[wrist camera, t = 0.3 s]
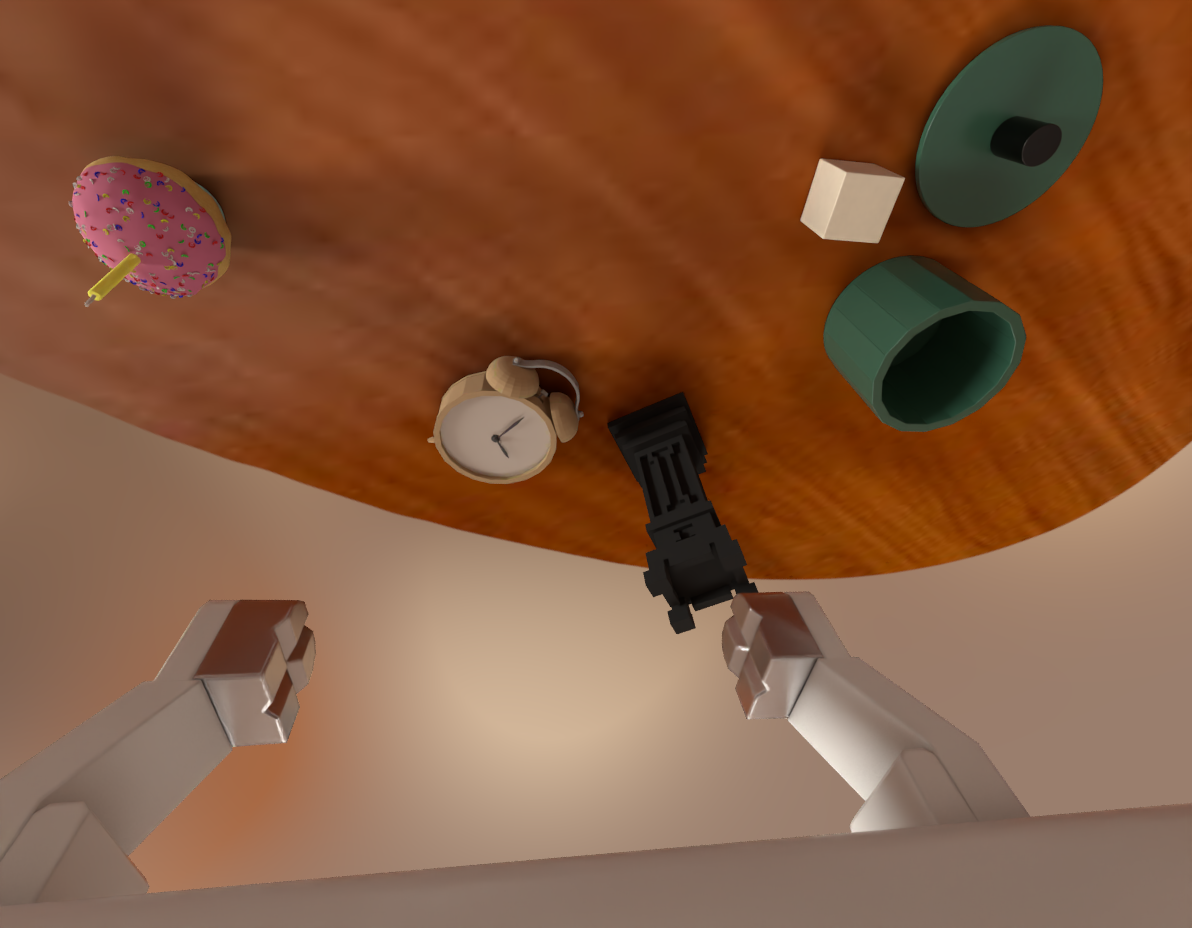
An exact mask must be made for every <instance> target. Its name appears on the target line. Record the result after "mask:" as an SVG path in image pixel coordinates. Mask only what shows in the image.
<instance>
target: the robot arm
mask: <svg viewBox="0 0 1192 928" xmlns="http://www.w3.org/2000/svg"><path fill="white" fill-rule="evenodd" d="M731 609H732V611H733V614H734V615H733V616H732V617H731V618H729V619H728V620H727V621H726V622H725V625H724V629H723V632H722V649H723V654H724V659H725V661H726V664H727V667H728V669H729V670H730V671H731V672H733V673H734V674H735V675H736V676H737V677H738V678H739V680H738V682H737V685H736V688H735V689H736V692H737V694H738V697H739V700H740V702H741V705H742V708H743V710H744V713H745V716H746V719H771V718H789V719H788V721H789V722H790V723H791V724H792V725H793V726H794V727H795V728H796V729H797V730H798V732H799V733H800V734H801V735H802V736H803V737H804V738H805V739H806V740H807V741H808V742H809V743H810V744H811V745H812V746H813V747H814V748H815V749H816V750H817V751H818V752H819V753H820V754H821V755H822V756H823V758H824V759H825V760H826V761H827V762H828V763H829V764H830V765H831V766H832V767H833V768H834V769H835V770H836V771H837V772H838V773H839V774H840V775H841V776H842V777H843V778H844V779H845V780H846V781H847V783H848V784H849V785H850V786H851V787H852V788H853V789H854V790H855V791H856V792H858V794H859V795H860V796H861V797H862V798H863V799H864V800H865V803H864V804H863V806H862V807H861V808H860V810H859V811H858V813H857V814H856V816H855V817H854V818H853V820H852V822H851V825H850V829H851V831H852V832H851V833H841V834H829V835H817V836H806V837H794V838H782V839H770V840H759V841H747V842H736V843H724V844H713V845H700V846H689V847H677V848H665V849H655V850H642V851H631V852H619V853H607V854H596V855H585V856H574V857H561V858H551V859H550V858H549V859H538V860H526V861H515V862H503V863H492V864H480V865H469V866H457V867H445V868H434V869H423V870H411V871H399V872H389V873H376V874H365V875H353V876H342V877H331V878H319V879H307V880H296V881H284V882H273V883H262V884H250V885H239V886H227V887H216V888H204V889H192V890H182V891H170V892H158V893H147V891H148V888H149V885H148V882H147V880H146V878H145V876H144V875H143V874H142V873H141V872H140V870H139V869H138V868H137V867H136V865H135V864H134V863H133V862H132V861H131V859H130V858H129V857H128V856H129V854H131V853H132V852H133V850H134V849H136V847H138V845H139V844H140V843H141V842H142V841H143V840H144V839H145V838H146V837H147V836H148V835H149V834H150V833H151V832H152V831H153V830H154V829H155V828H156V827H157V826H158V825H159V824H160V823H161V822H162V821H163V820H164V819H165V818H166V817H167V816H168V815H169V814H170V813H171V812H172V811H173V810H174V809H175V808H176V807H177V806H178V805H179V804H180V803H181V802H182V801H183V799H185V798H186V797H187V796H188V794H190V793H191V791H192V790H194V789H195V787H196V786H198V784H199V783H200V782H201V781H202V780H203V779H204V778H205V777H206V776H207V775H208V774H209V773H210V772H211V771H212V770H213V769H214V768H215V767H216V766H217V765H218V764H219V763H220V762H221V761H222V760H223V759H224V758H225V757H226V756H227V755H228V754H229V753H230V752H231V751H232V747H236V746H248V745H261V744H275V743H286V742H287V740H288V738H289V735H290V732H291V729H292V727H293V724H294V721H295V719H296V716H297V713H298V710H299V708H300V706H299V702H298V699H297V696H296V694H297V693H298V692H299V691H300V690H302V689H303V688H304V687H305V686H306V685H307V684H308V682H309V680H310V677H311V674H312V671H313V666H314V659H315V653H316V650H315V638H314V634H313V631H312V630H310V629H309V628H308V627H306V626H305V625H304V624H305V621H306V619H307V617H308V611H307V608H306V605H305V602H304V601H299V600H209V601H208V602H206V603H205V604H204V605H202V606H201V607H200V608H199V610H198V612H197V613H196V615H195V616H194V618H193V620H192V621H191V623H190V624H189V626H188V627H187V629H186V631H185V632H184V634H183V635H182V637H181V638H180V640H179V642H178V643H177V645H176V647H175V648H174V650H173V651H172V653H171V654H170V656H169V657H168V659H167V661H166V662H165V664H164V665H163V667H162V669H161V670H160V672H159V673H158V675H157V677H156V678H155V680H154V681H147V682H142V683H141V684H139V685H138V686H137V687H135V688H133V689H132V690H131V691H129V692H128V693H126V694H125V695H123V696H122V697H120V698H119V699H117V700H116V701H115V702H113V703H111V704H110V705H109V706H107V707H106V708H104V709H103V710H101V711H100V712H98V713H97V714H95V715H94V716H92V717H91V718H89V719H88V720H87V721H85V722H84V723H82V724H81V725H79V726H78V727H77V728H75V729H73V730H72V731H71V732H69V733H68V734H66V735H64V736H63V737H62V738H60V739H59V740H57V741H56V742H54V743H53V744H51V745H50V746H48V747H47V748H46V749H44V750H43V751H41V752H40V753H38V754H37V755H35V756H34V757H32V758H31V759H29V760H28V761H26V762H25V763H23V764H22V765H21V766H19V767H18V768H16V769H15V770H13V771H12V772H10V773H9V774H7V775H6V776H4V777H3V778H1V779H0V928H1192V803H1185V804H1175V805H1174V804H1173V805H1162V806H1150V807H1139V808H1127V809H1115V810H1105V811H1093V812H1081V813H1069V814H1058V815H1047V816H1035V817H1030V816H1029V814H1028V812H1027V811H1026V810H1025V808H1024V807H1023V805H1022V804H1021V803H1020V801H1019V800H1018V798H1017V797H1016V796H1015V794H1014V793H1013V791H1012V790H1011V789H1010V787H1009V786H1008V784H1007V783H1006V781H1005V780H1004V779H1003V777H1002V776H1001V775H1000V773H999V772H998V770H997V769H996V767H995V766H994V765H993V763H992V762H991V760H990V759H989V758H988V756H987V755H986V754H985V752H984V750H983V749H982V748H981V746H980V745H979V743H977V742H976V741H974V740H973V739H972V738H970V737H969V736H967V735H966V734H965V733H963V732H962V731H961V730H959V729H958V728H956V727H955V726H954V725H952V724H951V723H949V722H948V721H947V720H945V719H944V718H942V717H941V716H940V715H938V714H937V713H935V712H934V711H933V710H931V709H930V708H928V707H927V706H926V705H924V704H923V703H921V702H920V701H919V700H917V699H916V698H914V697H913V696H912V695H910V694H909V693H907V692H906V691H905V690H903V689H902V688H900V687H899V686H898V685H896V684H895V683H893V682H892V681H891V680H889V679H888V678H886V677H885V676H884V675H882V674H881V673H879V672H878V671H876V670H875V669H874V668H873V667H871V666H870V665H868V664H867V663H866V662H864V661H863V660H861V659H860V658H859V657H851V656H850V655H849V653H848V651H847V650H846V648H845V646H844V645H843V643H842V641H841V640H840V638H839V636H838V635H837V633H836V632H835V630H834V628H833V626H832V625H831V623H830V621H829V620H828V618H827V617H826V615H825V613H824V611H823V610H822V608H821V606H820V605H819V603H818V602H817V600H816V598H815V597H814V595H812V594H811V593H810V592H784V593H783V592H766V593H738V594H737V595H736V596H735V597H734V598H733V601H732V604H731Z"/></svg>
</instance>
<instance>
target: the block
mask: <svg viewBox="0 0 1192 928" xmlns="http://www.w3.org/2000/svg"><path fill="white" fill-rule="evenodd" d="M904 180H905V178H904V177H902V176H900V175H898V174H896V173H894V172H891V171H889V170H887V169H885V168H883V167H880V166H878V165H876V164H872V163H862V162H852V161H842V160H832V159H823V158H821V159H820V160H819V163H818V166H817V170H816V173H815V176H814V179H813V182H812V185H811V188H810V191H809V195H808V198H807V201H806V204H805V207H804V210H803V213H802V217H801V220H800V221H801V222H802V223H804V224H805V225H806V226H808V227H809V228H810V229H811V230H813V231H814V232H815V233H816V234H818V235H819V236H820V237H821V238H823V239H831V240H844V241H856V242H869V243H879V240H880V238H881V236H882V233H883V231H884V228H885V226H886V223H887V221H888V219H889V216H890V214H891V211H892V209H893V207H894V204H895V202H896V199H897V197H898V195H899V192H900V190H901V187H902V185H903V182H904Z"/></svg>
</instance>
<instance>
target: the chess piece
mask: <svg viewBox="0 0 1192 928" xmlns="http://www.w3.org/2000/svg"><path fill="white" fill-rule="evenodd" d="M607 424H608V428H609V430H610V432H611V434H612V436H613V438H614V439H615V441H616V443H617V445H618V447H619V449H620V451H621V452H622V454H623V456H624V458H625V460H626V462H627V464H628V465H629V467H630V469H631V471H632V473H633V475H634V477H635V479H636V480H637V481H638V482H639V484H640V486H641V487H642V488H643V493H644V497H645V501H646V505H647V509H648V513H649V517H650V522H651V523H648V524H646V530H647V533H648V534H649V536H650V538H651V540H652V541H653V543H654V545H655V547H656V550H653V551H650V552H647V553H646V557H647V562H648V566H649V570H648V571H646V572H643V573H644V579H645V583H646V586H647V588H648V589H649V591H650V592H651V594H652V596H653V597H655V596H658V595H661V594H663V596H664V597H665V599H666V601H667V602H668V604H669V605H670V607H672V610H670V611H668V616H669V620H670V624H671V626H672V627H673V629H674V631H675V632H676V634H679V633H682V632H685V631H688V630H691V629H694V628H695V624H694V621H693V617H692V614H691V612H690V608H689V604H692V606H693V608H694V610H695V611H698V610H701V609H704V608H707V607H710V606H713V605H715V604H719V603H721V602H725V601H728V600H731V599H733V596H732V593H731V590H733V589H735V591H736V595H737V594H738V593H758V590H757V588H756V586H755V583H754V582H753V583H750V584H749V581H748V579H747V576H746V573H745V571H744V569H743V566H745V565H747V564H746V561H745V559H744V556H743V554H742V551H741V549H740V546H739V544H738V541H737V539H736V540H733V541H732V540H731V538H730V535H729V533H728V530H727V528H726V526H725V525H722V526H721V524H720V522H719V519H718V517H717V515H716V512H715V510H714V508H713V505H712V503H711V501H708V500H707V497H706V494H705V492H704V489H703V486H702V483H701V481H700V478H699V475H698V474H701V473H703V472H706V470H705V467H704V465H703V464H704V463H707V461H706V459H705V456H704V455H707V454H708V453H707V451H706V448H705V446H704V443H703V441H702V438H701V436H700V433H699V431H698V428H697V426H696V423H695V421H694V418H693V416H692V413H691V411H690V408H689V406H688V403H687V401H686V398H685V396H684V393H683V392H682V393H679V394H677V395H674V396H672V397H670V398H667V399H665V400H662V401H660V402H657V403H655V404H653V405H650V406H648V407H645V408H643V409H641V410H638V411H636V412H633V413H631V414H629V415H626V416H624V417H621V418H619V419H617V420H614V421H612V422H609V423H607Z"/></svg>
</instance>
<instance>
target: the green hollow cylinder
mask: <svg viewBox="0 0 1192 928" xmlns="http://www.w3.org/2000/svg"><path fill="white" fill-rule="evenodd" d="M1025 341H1026V334H1025V330H1024V327H1023V324H1022V320H1021V317H1020V315H1019V314H1018V313H1016V312H1015V311H1013V310H1012V309H1011V308H1009V307H1008V306H1006V305H1005V304H1003V303H1002V302H1000V301H999V300H997V299H996V298H994V297H992V296H991V295H989V294H988V293H986V292H984V291H983V290H981V289H980V288H978V287H976V286H975V285H973V284H972V283H970V282H968V281H967V280H965V279H964V278H962V277H960V276H959V275H957V274H956V273H954V272H952V271H951V270H949V269H948V268H946V267H944V266H943V265H941V264H940V263H938V262H936V261H935V260H933V259H929V258H926V257H922V256H902V257H896V258H892V259H889V260H886V261H884V262H881V263H879V264H877V265H875V266H873V267H871V268H870V269H868V270H866V271H865V272H863V273H862V274H861V275H859V276H858V277H857V278H856V279H854V280H853V281H852V282H851V283H850V284H849V285H848V286H847V287H846V288H845V289H844V291H843V292H842V293H841V294H840V296H839V297H838V298H837V300H836V301H835V303H834V305H833V306H832V308H831V310H830V312H829V314H828V317H827V320H826V323H825V328H824V346H825V350H826V353H827V355H828V357H829V359H830V360H831V361H832V363H833V364H834V366H835V368H836V369H837V370H838V371H839V372H840V374H841V375H842V376H843V377H844V378H845V379H846V381H847V382H848V383H849V384H850V385H851V386H852V388H853V389H854V390H855V391H856V392H857V393H858V395H859V396H860V397H861V398H862V399H863V401H864V402H865V403H866V404H867V405H868V406H869V408H870V409H871V410H872V411H873V412H874V413H875V415H876V416H877V417H878V418H879V419H880V421H882V422H883V423H885V424H887V425H889V426H891V427H893V428H895V429H897V430H899V431H919V432H926V431H930V430H933V429H937V428H940V427H944V426H948V425H951V424H954V423H955V422H957V421H959V420H961V419H963V418H964V417H966V416H968V415H970V414H971V413H973V412H975V411H977V410H979V409H980V408H981V407H982V406H983V405H985V404H986V403H987V402H988V401H989V400H990V399H991V398H992V397H993V396H995V395H996V394H997V393H998V392H999V391H1000V390H1001V389H1002V388H1003V387H1004V386H1005V385H1006V383H1007V382H1008V380H1009V379H1010V377H1011V376H1012V374H1013V373H1014V371H1015V369H1016V368H1017V366H1018V365H1019V363H1020V361H1021V357H1022V353H1023V349H1024V345H1025Z"/></svg>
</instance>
